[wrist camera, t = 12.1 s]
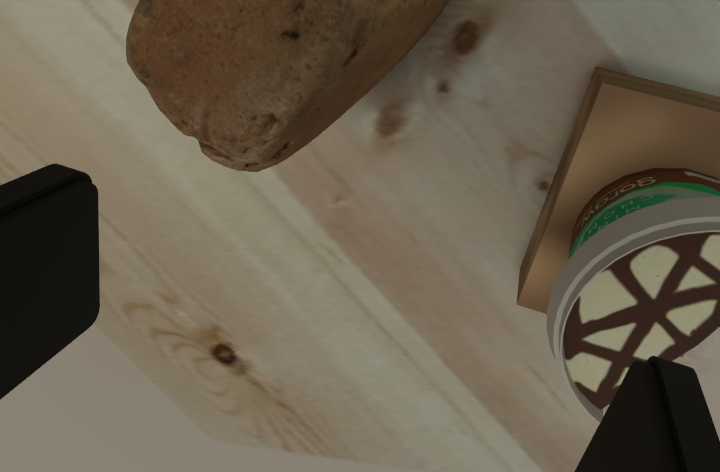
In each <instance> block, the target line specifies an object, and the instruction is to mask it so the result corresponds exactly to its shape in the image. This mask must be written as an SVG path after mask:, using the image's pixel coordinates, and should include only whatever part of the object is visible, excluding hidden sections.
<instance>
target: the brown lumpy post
mask: <svg viewBox="0 0 720 472" xmlns="http://www.w3.org/2000/svg"><path fill="white" fill-rule="evenodd" d="M447 1H448V0H139V2H138V4H137V7H136V9H135V11H134V14H133V17H132V19H131V22H130V25H129V29H128V33H127V38H126V58H127V63H128V64H129V66H130V67H131V69H132V71H133V72H134V74H135V75H136V77H137V78H138V80H140V81H141V82H142V83H143V84H144V85H145V86H146V88H147V89H148V91H149V93H150V95H151V97H152V98H153V100H154V102H155V103H156V105H157V107H158V108H159V110H160V111H161V112H162V113H163V114H164V115H165V116H166V117H167V118H168V119H169V120H170V121H171V122H172V124H173V125H174V126H175V127H176V128H177V129H178V130H179V131H181V132H182V133H183V134H184V135H187V136H192V137H195V138H196V139H197V140H198V142H199V144H200V147H201V151H202V153H204V154H205V155H206V156H207V157H209V158H210V159H211V160H212V161H214V162H217V163H219V164H221V165H223V166H225V167H229V168H232V169H235V170H239V171H248V172H258V171H261V170H263V169H266V168H269V167H271V166H274V165H277V164H278V163H280V162H282V161H284V160H285V159H287V158H289V157H290V156H291V155H293V154H294V153H295V152H297V151H298V150H300V149H301V148H303V147H304V146H305V145H307V144H308V143H309V142H311V141H312V140H313V139H315V138H316V137H317V136H318V135H319V134H321V133H322V132H323V131H324V130H325V129H327V128H328V127H329V126H330V125H331V124H332V123H334V122H335V121H336V120H337V119H338V118H339V117H341V116H342V115H343V114H344V113H345V112H346V111H347V110H348V109H349V108H351V107H352V106H353V105H354V104H355V103H356V102H358V101H359V100H360V99H361V98H362V97H363V96H364V95H365V94H366V93H367V92H368V91H370V90H371V89H372V88H373V87H374V86H375V85H376V84H377V83H378V82H379V81H380V80H381V79H382V78H383V77H384V76H385V75H386V74H387V73H388V72H389V71H390V70H391V69H393V68H394V67H395V66H396V64H397V63H398V62H399V61H400V60H401V59H402V58H403V57H404V56H405V55H406V54H407V52H408V51H409V50H410V49H411V48H412V47H413V46H414V44H415V43H416V42H417V41H418V40H419V39H420V38H421V36H423V35H424V34H425V32H426V31H427V30H428V29H429V27H430V26H431V25H432V24H433V22H434V21H435V20H436V18H437V17H438V15H439V14H440V12H441V11H442V10H443V8H444V6H445V5H446V3H447Z"/></svg>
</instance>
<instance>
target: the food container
mask: <svg viewBox="0 0 720 472" xmlns="http://www.w3.org/2000/svg"><path fill="white" fill-rule="evenodd" d="M718 327H720V180H719V179H718V178H716V177H713V176H709V175H706V174H703V173H700V172H696V171H693V170H690V169H687V168H651V169H647V170H644V171H640V172H636V173H632V174H628V175H624V176H622V177H621V178H619V179H617V180H615V181H614V182H612V183H610V184H608V185H606V186H605V187H603V188H602V189H601V190H600V191H599V192H597V193H596V194H595V195H594V196H593V197H592V198H591V199H590V200H589V201H588V203H587V204H586V205H585V206H584V208H583V209H582V211H581V213H580V214H579V216H578V218H577V221H576V223H575V226H574V229H573V234H572V239H571V246H570V253H569V260H568V261H567V263H566V264H565V266H564V267H563V269H562V271H561V272H560V274H559V275H558V277H557V280H556V282H555V285H554V287H553V289H552V292H551V295H550V300H549V305H548V310H547V332H548V337H549V343H550V347H551V350H552V353H553V355H554V358H555V361H556V363H557V366H558V369H559V371H560V374H561V377H562V379H563V381H564V382H565V384H566V386H567V387H568V389H569V391H570V393H571V394H572V395H573V396H574V398H575V399H576V400H577V401H578V403H579V404H580V405H581V406H582V407H583V409H584V410H585V411H586V412H587V414H588V415H589V416H590V417H592V418H593V419H594V420H595V421H596V422H597V423H598V424H600V423H601V421H602V419H603V408H604V407H606V406H607V405H608V404H610V403H611V402H612V400H613V398H614V396H615V394H616V392H617V390H618V388H619V387H620V385H621V383H622V381H623V379H624V377H625V375H626V373H627V371H628V369H629V368H630V366H631V364H632V363H633V362H634V361H636V360H638V361H641V362H646V360H647V359H648V358H649V357H651V356H657V357H660V358H663V359H666V360H669V361H673V360H674V359H676V358H678V357H679V356H681V355H682V354H684V353H686V352H687V351H689V350H690V349H692V348H694V347H695V346H697V345H698V344H699V343H701V342H702V341H703V340H704V339H705V338H707V337H708V336H709V335H710V334H712V333H713V332H714V331H715V330H716V329H717V328H718Z"/></svg>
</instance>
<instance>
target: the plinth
mask: <svg viewBox="0 0 720 472" xmlns="http://www.w3.org/2000/svg"><path fill="white" fill-rule="evenodd" d="M651 168H687V169H690V170H693V171H696V172H700V173H703V174H706V175H709V176H713V177H716V178H718V179H719V180H720V98H719V97H715V96H711V95H707V94H703V93H699V92H695V91H691V90H687V89H683V88H679V87H675V86H671V85H667V84H663V83H659V82H655V81H651V80H647V79H643V78H639V77H635V76H631V75H627V74H623V73H619V72H615V71H611V70H607V69H603V68H599V67H596V68H595V71H594V73H593V76H592V79H591V81H590V84H589V87H588V89H587V92H586V95H585V97H584V100H583V103H582V105H581V108H580V111H579V113H578V116H577V118H576V121H575V124H574V126H573V129H572V132H571V134H570V137H569V140H568V142H567V145H566V148H565V150H564V153H563V156H562V158H561V161H560V164H559V166H558V169H557V172H556V174H555V177H554V180H553V182H552V185H551V187H550V190H549V193H548V195H547V198H546V201H545V203H544V206H543V209H542V211H541V214H540V217H539V219H538V222H537V225H536V227H535V230H534V233H533V235H532V238H531V241H530V243H529V246H528V249H527V251H526V254H525V256H524V259H523V262H522V264H521V267H520V275H519V286H518V296H517V305H520V306H523V307H527V308H530V309H533V310H536V311H539V312H542V313H545V314H547V310H548V305H549V300H550V295H551V292H552V289H553V287H554V285H555V282H556V280H557V277H558V275H559V274H560V272H561V271H562V269H563V267H564V266H565V264H566V263H567V261H568V260H569V253H570V246H571V239H572V234H573V229H574V226H575V223H576V221H577V218H578V216H579V214H580V213H581V211H582V209H583V208H584V206H585V205H586V204H587V203H588V201H589V200H590V199H591V198H592V197H593V196H594V195H595V194H596V193H597V192H599V191H600V190H601V189H602V188H603V187H605V186H606V185H608V184H610V183H612V182H614V181H615V180H617V179H619V178H621V177H622V176H624V175H628V174H632V173H636V172H640V171H644V170H647V169H651ZM683 355H684V354H682V355H681V356H680V357H683Z"/></svg>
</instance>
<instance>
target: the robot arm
mask: <svg viewBox="0 0 720 472" xmlns="http://www.w3.org/2000/svg"><path fill="white" fill-rule="evenodd" d="M99 308H100V297H99V227H98V190H97V188H96V186H95V185H94V184H92V180H91V178H90V176H89V175H87V174H86V173H84V172H81V171H78V170H75V169H72V168H68V167H65V166H62V165H59V164H51V165H48V166H46V167H43V168H41V169H39V170H36V171H34V172H31V173H29V174H27V175H24V176H22V177H19V178H17V179H15V180H12V181H10V182H8V183H5V184H3V185H0V399H1V398H3V397H4V396H5V395H6V394H8V393H9V392H10V391H11V390H13V389H14V388H15V387H16V386H18V385H19V384H20V383H21V382H23V381H24V380H25V379H26V378H27V377H29V376H30V375H31V374H32V373H34V372H35V371H36V370H37V369H38V368H40V367H41V366H42V365H44V364H45V363H46V362H47V361H48V360H50V359H51V358H52V357H53V356H55V355H56V354H57V353H58V352H60V351H61V350H62V349H63V348H64V347H66V346H67V345H68V344H70V343H71V342H72V341H73V340H75V339H76V338H77V337H78V336H79V335H80V334H82V333H83V332H84V331H86V330H87V329H88V328H89V327H90V326H91V325H92V324H93V323H94V322H95V320H96V318H97V316H98V313H99ZM575 472H720V441H719V438H718V435H717V432H716V429H715V427H714V424H713V421H712V418H711V415H710V412H709V409H708V406H707V403H706V401H705V398H704V395H703V393H702V389H701V386H700V383H699V380H698V377H697V375H696V372H695V371H694V369H693V368H691V367H688V366H685V365H682V364H678V363H675V362H672V361H669V360H666V359H663V358H660V357H657V356H651V357H649V358H648V359H647V360H646V362H641V361H638V360H636V361H634V362H633V363H632V364H631V366H630V368H629V369H628V371H627V373H626V375H625V377H624V379H623V381H622V383H621V385H620V387H619V388H618V390H617V392H616V394H615V396H614V398H613V400H612V402H611V404H610V406H609V407H608V409H607V411H606V413H605V415H604V417H603V419H602V421H601V423H600V424H599V426H598V428H597V430H596V432H595V434H594V436H593V438H592V440H591V442H590V443H589V445H588V447H587V449H586V451H585V453H584V455H583V457H582V459H581V461H580V462H579V464H578V466H577V468H576V470H575Z"/></svg>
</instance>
